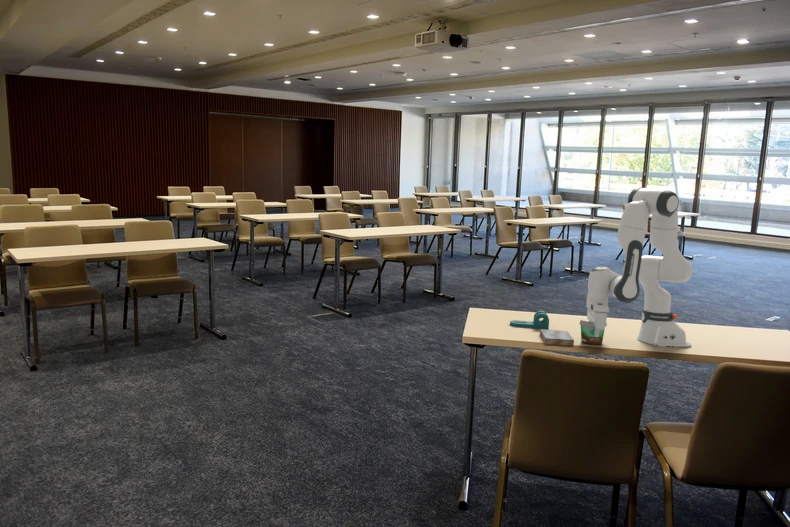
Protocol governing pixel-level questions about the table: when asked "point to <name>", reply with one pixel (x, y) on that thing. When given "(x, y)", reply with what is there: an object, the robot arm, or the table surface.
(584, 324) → the food container
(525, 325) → the bracket
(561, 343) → the grey flat block
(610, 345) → the table surface
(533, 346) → the table surface
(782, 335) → the table surface
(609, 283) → the robot arm
